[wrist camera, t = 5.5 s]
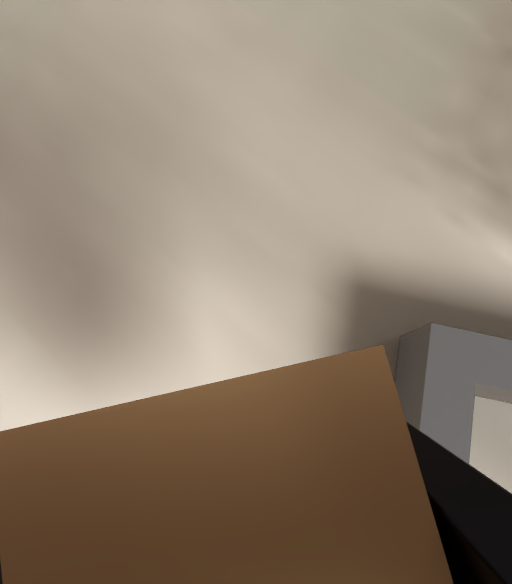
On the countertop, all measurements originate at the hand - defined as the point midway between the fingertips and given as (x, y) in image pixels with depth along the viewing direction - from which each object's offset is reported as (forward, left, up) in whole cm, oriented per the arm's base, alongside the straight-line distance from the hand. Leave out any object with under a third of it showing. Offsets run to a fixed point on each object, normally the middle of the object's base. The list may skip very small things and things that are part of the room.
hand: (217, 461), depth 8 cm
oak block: (-1, -1, -7) cm, 7 cm away
